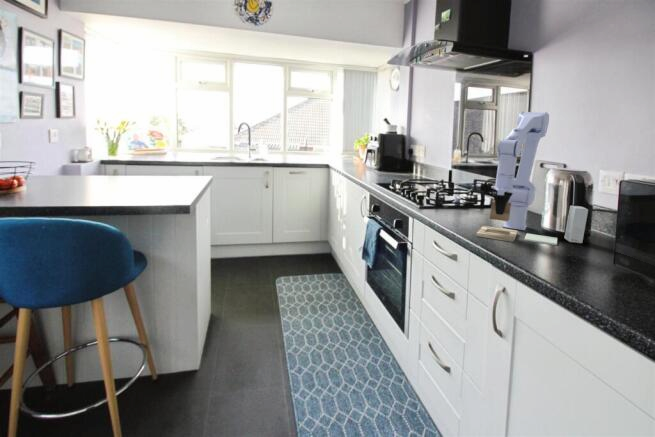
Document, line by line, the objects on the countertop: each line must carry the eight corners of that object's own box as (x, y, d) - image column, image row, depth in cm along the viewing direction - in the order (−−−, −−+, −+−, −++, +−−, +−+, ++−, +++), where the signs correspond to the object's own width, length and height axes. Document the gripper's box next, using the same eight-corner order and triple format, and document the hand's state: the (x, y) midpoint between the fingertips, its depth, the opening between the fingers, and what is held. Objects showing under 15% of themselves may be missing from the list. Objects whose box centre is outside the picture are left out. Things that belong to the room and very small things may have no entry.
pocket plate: (482, 228, 166) (483, 225, 166) (517, 234, 161) (517, 230, 160) (476, 236, 154) (476, 232, 154) (513, 241, 149) (513, 238, 148)
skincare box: (582, 243, 152) (588, 209, 150) (569, 242, 153) (575, 208, 150) (576, 239, 158) (582, 206, 155) (563, 238, 159) (569, 205, 156)
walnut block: (491, 217, 159) (493, 200, 158) (509, 219, 157) (511, 202, 155) (489, 218, 156) (491, 202, 154) (507, 221, 153) (510, 204, 152)
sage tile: (526, 234, 160) (526, 233, 160) (557, 239, 156) (557, 237, 156) (524, 240, 152) (524, 238, 151) (556, 245, 147) (556, 243, 147)
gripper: (496, 172, 161) (491, 208, 164) (490, 175, 148) (485, 214, 151) (517, 174, 158) (511, 211, 161) (512, 177, 145) (507, 217, 148)
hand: (500, 213), depth 156 cm, fingers closed on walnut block, 4 cm apart
